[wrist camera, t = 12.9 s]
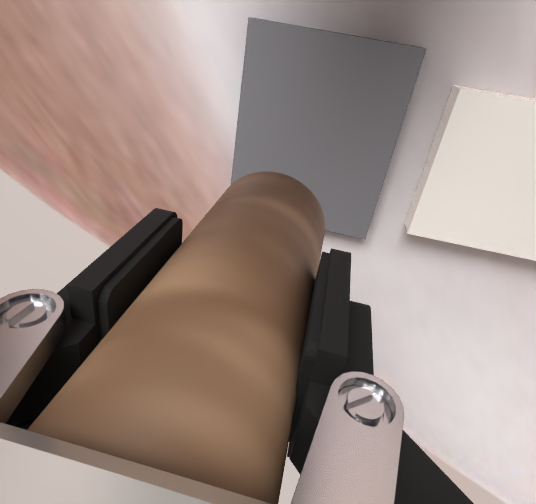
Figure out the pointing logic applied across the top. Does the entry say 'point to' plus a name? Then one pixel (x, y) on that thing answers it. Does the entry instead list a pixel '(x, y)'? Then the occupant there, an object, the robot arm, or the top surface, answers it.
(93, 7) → the top surface
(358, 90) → the mat
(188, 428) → the dowel
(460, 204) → the tile
